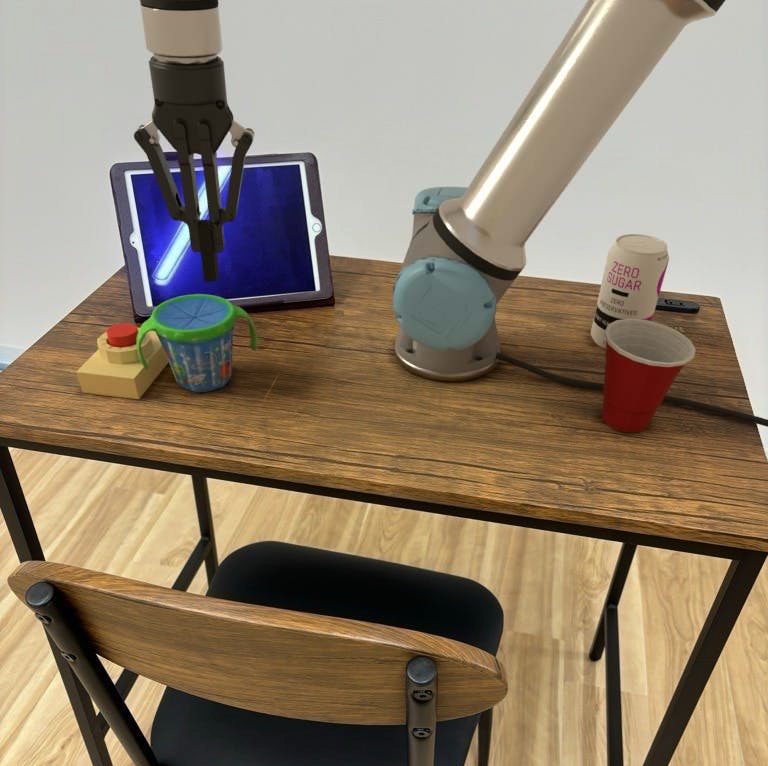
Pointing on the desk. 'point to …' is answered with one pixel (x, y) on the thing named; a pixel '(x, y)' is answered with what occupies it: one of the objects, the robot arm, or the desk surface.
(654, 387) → the plastic cup
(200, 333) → the snack cup
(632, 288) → the supplement can
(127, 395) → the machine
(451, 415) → the desk surface
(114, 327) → the button
